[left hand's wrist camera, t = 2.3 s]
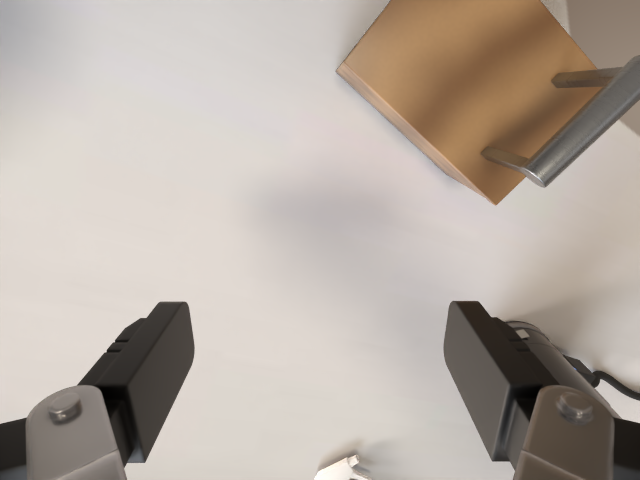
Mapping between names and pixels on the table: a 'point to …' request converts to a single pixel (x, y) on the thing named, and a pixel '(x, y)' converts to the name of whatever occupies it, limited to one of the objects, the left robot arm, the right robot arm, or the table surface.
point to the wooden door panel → (492, 87)
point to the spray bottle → (342, 470)
